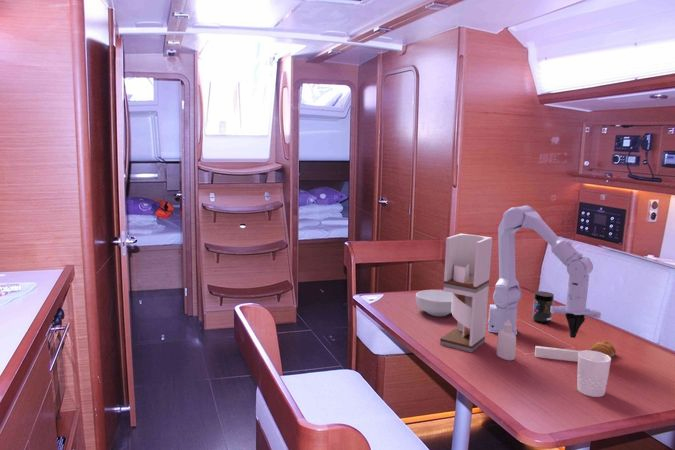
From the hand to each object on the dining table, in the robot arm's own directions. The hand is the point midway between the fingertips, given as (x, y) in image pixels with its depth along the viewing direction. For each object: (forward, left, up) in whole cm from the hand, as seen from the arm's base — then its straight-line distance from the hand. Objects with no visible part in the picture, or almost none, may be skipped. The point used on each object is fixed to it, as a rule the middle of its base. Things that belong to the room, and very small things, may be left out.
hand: (572, 336), depth 173 cm
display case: (-34, -5, -5) cm, 35 cm away
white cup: (0, -30, -5) cm, 30 cm away
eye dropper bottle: (-21, -13, -5) cm, 25 cm away
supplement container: (-6, +27, -5) cm, 28 cm away
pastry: (+9, -1, -5) cm, 10 cm away
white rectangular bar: (-5, -9, -4) cm, 11 cm away
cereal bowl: (-44, +24, -5) cm, 50 cm away
